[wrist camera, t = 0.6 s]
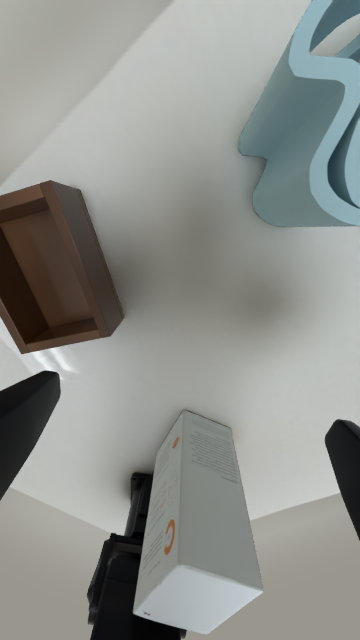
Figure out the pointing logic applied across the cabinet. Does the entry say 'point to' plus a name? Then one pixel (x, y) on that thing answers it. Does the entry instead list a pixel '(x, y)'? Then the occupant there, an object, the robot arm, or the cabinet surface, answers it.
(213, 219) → the cabinet surface
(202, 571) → the small box
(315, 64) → the squiggly pen holder
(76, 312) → the brown wooden tray
